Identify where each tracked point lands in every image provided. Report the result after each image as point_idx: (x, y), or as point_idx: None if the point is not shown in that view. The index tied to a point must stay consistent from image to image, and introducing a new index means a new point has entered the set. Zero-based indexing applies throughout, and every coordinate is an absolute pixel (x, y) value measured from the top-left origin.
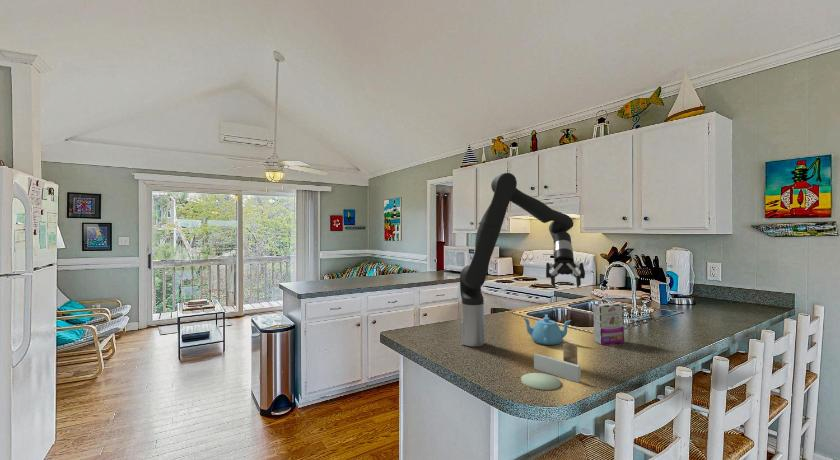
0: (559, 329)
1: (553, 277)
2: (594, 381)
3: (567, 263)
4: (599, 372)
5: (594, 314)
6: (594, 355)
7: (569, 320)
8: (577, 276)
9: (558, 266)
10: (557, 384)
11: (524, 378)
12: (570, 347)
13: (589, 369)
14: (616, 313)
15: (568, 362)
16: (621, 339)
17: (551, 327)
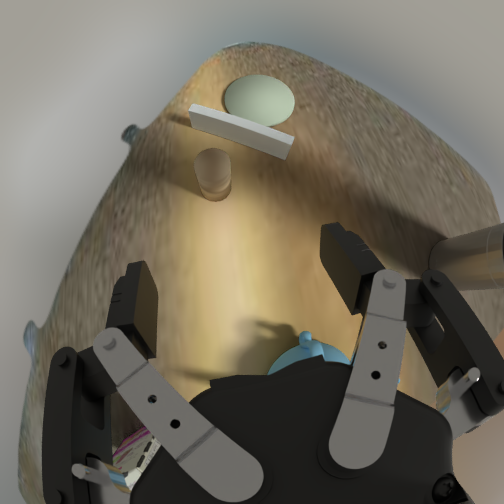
0: None
1: (362, 258)
2: (168, 139)
3: (245, 488)
4: (156, 190)
5: None
6: (170, 312)
7: None
8: (124, 324)
9: (382, 390)
10: (229, 92)
11: (287, 95)
12: (210, 149)
13: (176, 199)
14: None
15: (212, 116)
16: (124, 441)
17: None
